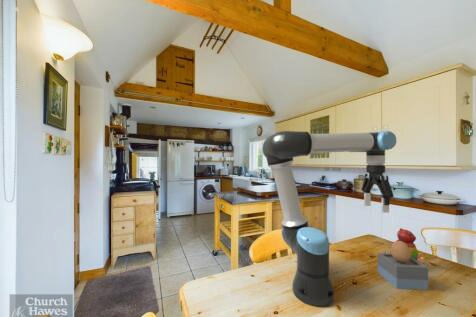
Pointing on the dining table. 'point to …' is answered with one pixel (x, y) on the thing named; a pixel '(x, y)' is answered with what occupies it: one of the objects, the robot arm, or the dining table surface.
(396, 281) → the grey square tray
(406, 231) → the stacking bear
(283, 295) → the dining table surface
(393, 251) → the egg
